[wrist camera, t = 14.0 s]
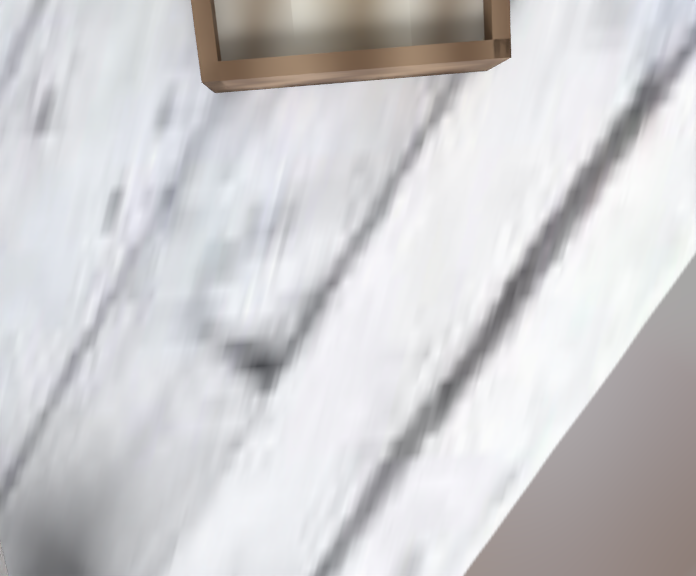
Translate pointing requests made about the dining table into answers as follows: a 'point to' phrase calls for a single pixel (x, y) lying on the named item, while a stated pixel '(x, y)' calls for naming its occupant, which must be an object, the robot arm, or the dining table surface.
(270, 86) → the socket box
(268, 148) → the dining table surface
